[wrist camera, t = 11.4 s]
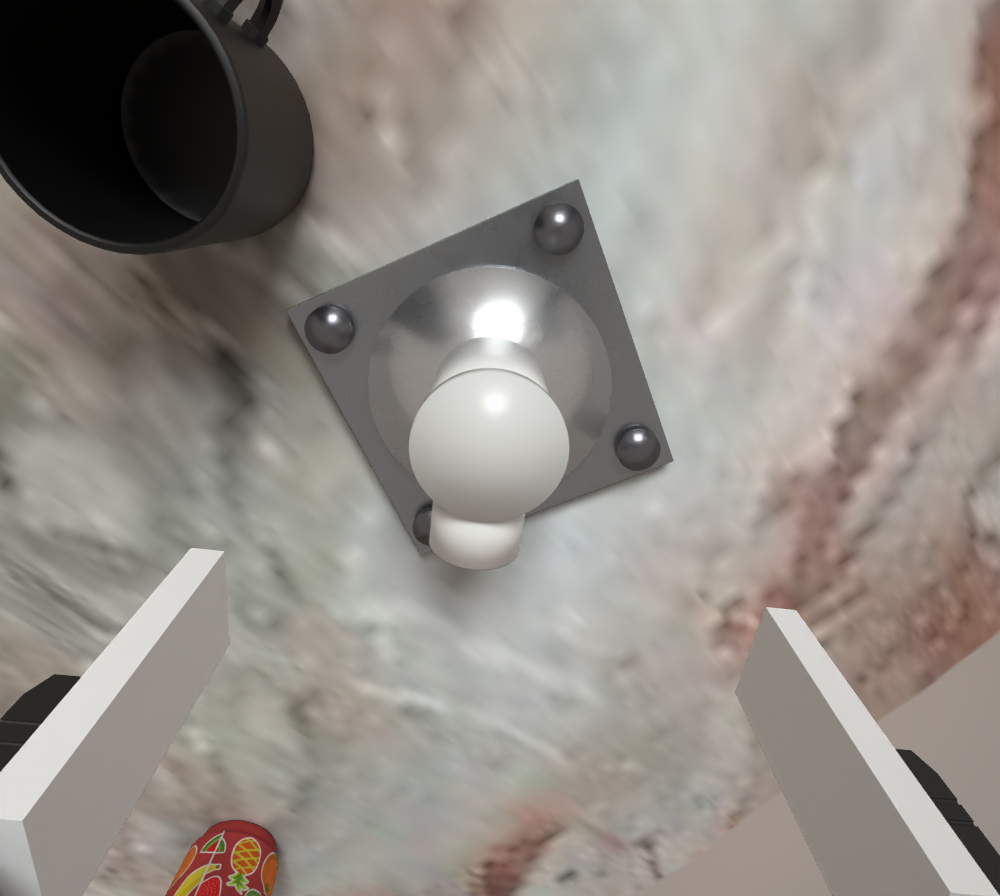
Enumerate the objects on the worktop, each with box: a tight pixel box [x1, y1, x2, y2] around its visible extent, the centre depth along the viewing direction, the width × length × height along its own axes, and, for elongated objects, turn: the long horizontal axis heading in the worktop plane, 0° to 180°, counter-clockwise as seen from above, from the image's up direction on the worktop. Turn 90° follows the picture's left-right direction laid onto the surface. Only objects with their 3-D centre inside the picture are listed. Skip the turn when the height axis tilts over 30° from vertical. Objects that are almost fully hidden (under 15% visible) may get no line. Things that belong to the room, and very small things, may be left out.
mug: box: [0, 0, 313, 255], centre depth 25 cm, size 9×12×9 cm
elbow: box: [409, 336, 569, 570], centre depth 29 cm, size 9×7×8 cm
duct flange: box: [286, 179, 673, 555], centre depth 33 cm, size 16×16×2 cm
